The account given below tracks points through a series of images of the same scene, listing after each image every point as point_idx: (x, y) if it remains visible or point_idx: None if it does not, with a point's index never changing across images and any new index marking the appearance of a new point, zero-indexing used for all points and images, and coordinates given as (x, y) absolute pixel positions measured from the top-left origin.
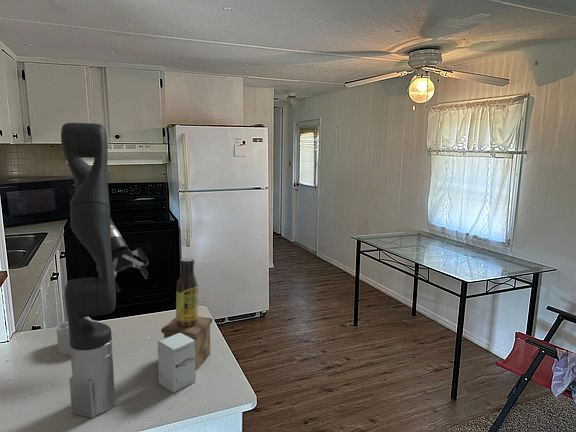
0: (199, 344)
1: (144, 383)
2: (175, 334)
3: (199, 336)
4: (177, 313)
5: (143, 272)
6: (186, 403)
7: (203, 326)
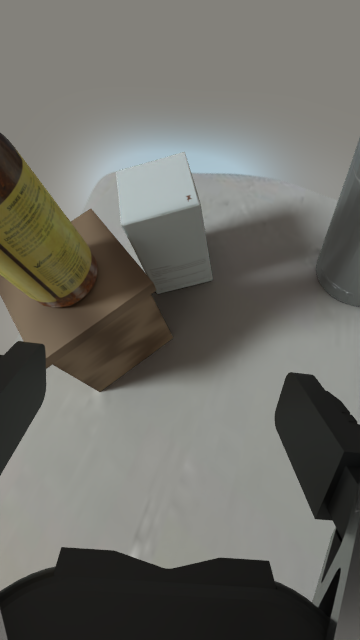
0: None
1: (241, 294)
2: (138, 219)
3: None
4: (79, 246)
5: (19, 363)
6: None
7: None
